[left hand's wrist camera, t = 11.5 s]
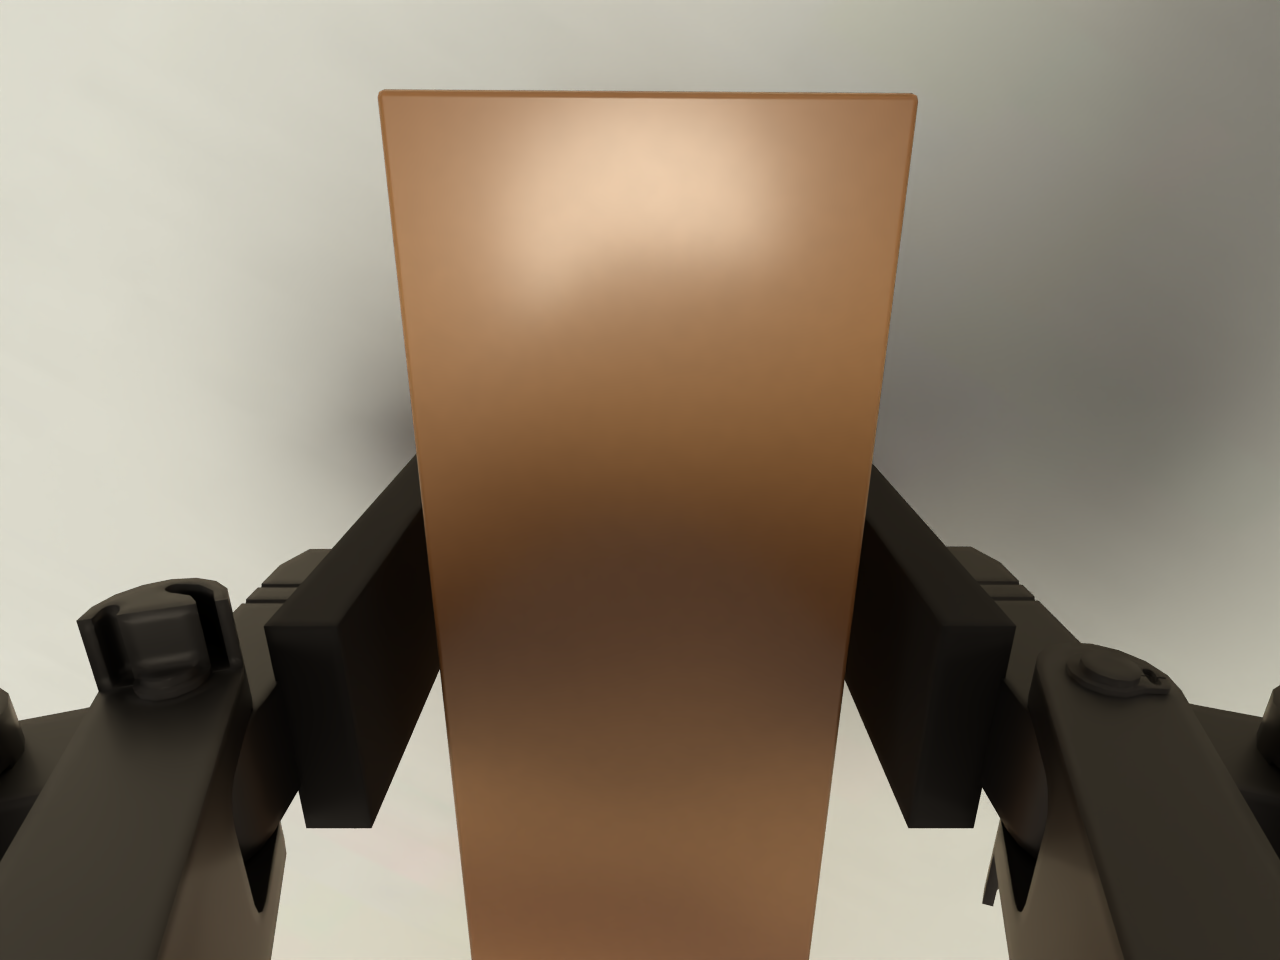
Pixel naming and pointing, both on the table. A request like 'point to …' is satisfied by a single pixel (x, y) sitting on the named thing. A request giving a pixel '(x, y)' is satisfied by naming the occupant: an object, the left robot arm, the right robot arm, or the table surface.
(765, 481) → the bar
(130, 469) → the table surface
